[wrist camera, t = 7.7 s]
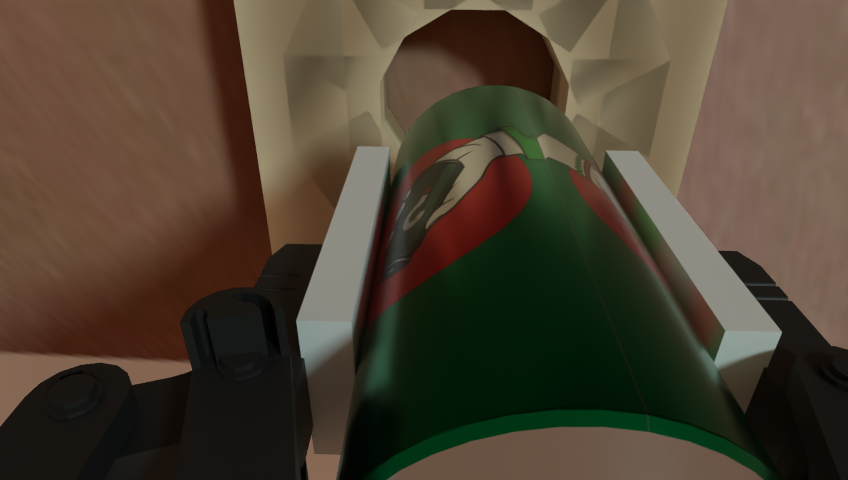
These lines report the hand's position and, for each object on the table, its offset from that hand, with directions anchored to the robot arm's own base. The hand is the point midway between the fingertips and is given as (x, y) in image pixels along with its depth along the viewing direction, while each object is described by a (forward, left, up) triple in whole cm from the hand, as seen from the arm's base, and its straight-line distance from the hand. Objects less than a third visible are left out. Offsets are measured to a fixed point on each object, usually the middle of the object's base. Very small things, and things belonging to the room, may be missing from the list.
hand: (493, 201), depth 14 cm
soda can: (0, 0, -2) cm, 2 cm away
